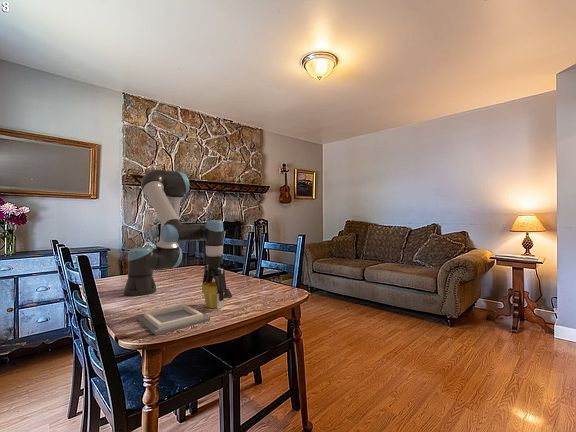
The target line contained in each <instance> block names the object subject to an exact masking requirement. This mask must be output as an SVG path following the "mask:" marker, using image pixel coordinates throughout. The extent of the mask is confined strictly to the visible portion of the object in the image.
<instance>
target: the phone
mask: <svg viewBox="0 0 576 432" xmlns="http://www.w3.org/2000/svg"><path fill="white" fill-rule="evenodd" d="M229 289H230V288H229ZM229 289H228V288H227V292H224V299H230V298H231V299H232V298H233V294H232V293H231V291H230V290H229Z"/></svg>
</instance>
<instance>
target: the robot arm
mask: <svg viewBox="0 0 576 432" xmlns="http://www.w3.org/2000/svg"><path fill="white" fill-rule="evenodd" d="M140 187H141V191H142V193H143V194H144V195H145V196H146V197H148V199H149V202H150V204H151V206H152V208H153V209H154V211H155V213H156V216H157V217H158V220H159V222H160V233H159V234H160V235H159V241H158V242H157V243H156V246H155V248H153V246H148V245H146V246H140V247H135V248H132V249H130V250H129V251H128V253H127V254H128V255H127V280H126V283H125V286H124V289H123V294H124V295H125V296H127V297H128V296H129V297H139V296H146V295H150V294H151V295H152V294H154V293H156V292H157V284H156V282H155V278H154V276H153V275H154V274H153V273H154V271H159V270H169V269H174V268H177V267H178V266H180V264H181V262H182V260H183V251H182V248H181V247H180V245H179V243H180V242H195V241H205V264H206V265H204V271H203V272H204V273H203V277H202V284H203V283H206V282H207V283H210V282H212V281H213V279H214V281H215V282H216V286H217V289H218V292H217V307H216V309H223V308H224V300H225V298H224V292H227V289H228V288H227V282H226V276H225V274H226V273H225V268H221V265H222V264H223V263H224V256H223V254H224V231H225V230H224V222H223V220H219V219H218V220H216V219H215V220H213V219H212V220H208V219H207V220H206V221H205V224H204V223H190V224H185V223H184V224H182V222H181V221H180V208H181V201H182V199H184V198H185V195H186V194H188V193H189V191H190V179H189V178H188V175H187V174H186V173H184V172H181V171H178V170H177V171H174V170H164V169H155V168H154V169H151V170H149V171H148V172H146V173H145V174H144V175H143V177H142V179H141V181H140ZM178 242H179V243H178ZM204 303H205V304H206V301H205V300H204Z"/></svg>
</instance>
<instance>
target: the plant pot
mask: <svg viewBox="0 0 576 432" xmlns="http://www.w3.org/2000/svg"><path fill="white" fill-rule="evenodd" d="M201 292H202V293H203V296H204V302H205V301H206V303H205V305H206V307H207V308H209V309H213V308H216V309H217V292H218V289H217V286H216V282H215V280H214V281H213V280H212V282H210V283H207V282H206V283H203V282H202V284H201Z"/></svg>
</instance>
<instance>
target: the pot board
mask: <svg viewBox="0 0 576 432" xmlns="http://www.w3.org/2000/svg"><path fill="white" fill-rule="evenodd" d="M137 320H138V321H139V322H140V323H141V324H142V325H143V324H144V325H143V326H144V327H146V328H147V329H148V330H149V331H150V332H151V333H152V334H154V336H157V335H161V334H164V333H168V332H169V333H170V332H172V331H177V330H180V329H184V328H188V327H191V326H195V325H199V324H202V323H203V324H204V323H206V322H210V321H211V319H210V317H208V316H207V315H205V314H204V313H202V312H200V311H198V310H197V309H195V308H192V306H189V305H187V304H181V305H177V306H171V307H167V308H162V309H158V310H153V311H147V312H143V315H140V316H137Z"/></svg>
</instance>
